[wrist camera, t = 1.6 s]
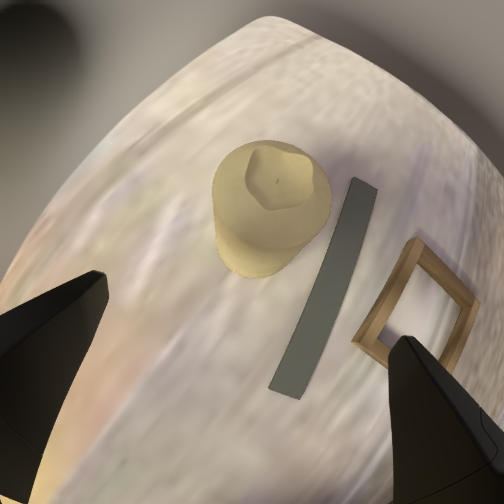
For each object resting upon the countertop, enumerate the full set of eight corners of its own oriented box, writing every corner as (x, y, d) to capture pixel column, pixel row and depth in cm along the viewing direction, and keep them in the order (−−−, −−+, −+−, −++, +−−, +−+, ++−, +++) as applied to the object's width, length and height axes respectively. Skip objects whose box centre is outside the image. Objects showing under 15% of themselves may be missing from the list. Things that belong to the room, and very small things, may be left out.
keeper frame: (426, 398, 19) (436, 400, 17) (351, 341, 20) (359, 342, 18) (470, 305, 21) (480, 303, 20) (407, 241, 22) (417, 236, 21)
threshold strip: (352, 178, 23) (354, 176, 23) (375, 191, 23) (377, 189, 23) (268, 387, 18) (268, 388, 18) (298, 398, 18) (299, 400, 18)
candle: (203, 227, 21) (188, 150, 11) (266, 194, 22) (295, 108, 12) (241, 293, 20) (257, 266, 10) (305, 255, 21) (367, 201, 11)
